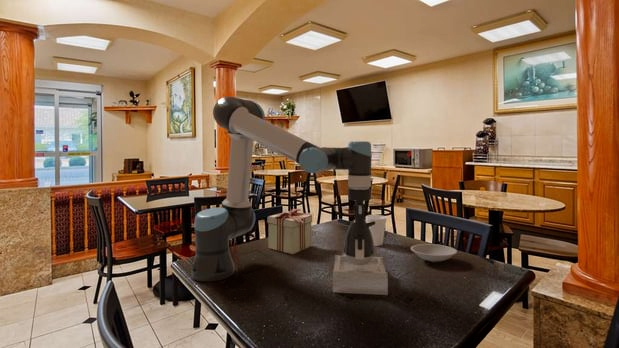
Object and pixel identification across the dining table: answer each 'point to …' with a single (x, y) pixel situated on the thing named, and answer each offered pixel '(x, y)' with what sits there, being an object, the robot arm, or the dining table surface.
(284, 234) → the gift box
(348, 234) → the pump dispenser
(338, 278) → the white tray
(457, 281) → the dining table surface
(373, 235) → the foam cup
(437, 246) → the dish
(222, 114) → the robot arm
